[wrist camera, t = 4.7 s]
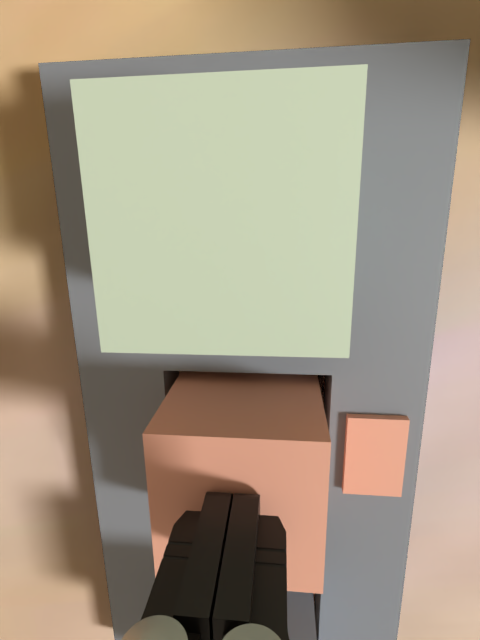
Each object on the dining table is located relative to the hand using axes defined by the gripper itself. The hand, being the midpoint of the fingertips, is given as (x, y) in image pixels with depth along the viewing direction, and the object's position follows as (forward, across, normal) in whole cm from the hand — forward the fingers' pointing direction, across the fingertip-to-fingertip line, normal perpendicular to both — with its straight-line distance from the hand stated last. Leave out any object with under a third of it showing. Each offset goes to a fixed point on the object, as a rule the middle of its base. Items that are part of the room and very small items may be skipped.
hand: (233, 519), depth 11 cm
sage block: (+3, 0, -8) cm, 9 cm away
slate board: (+5, 0, 0) cm, 5 cm away
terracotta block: (+5, 0, 0) cm, 5 cm away
